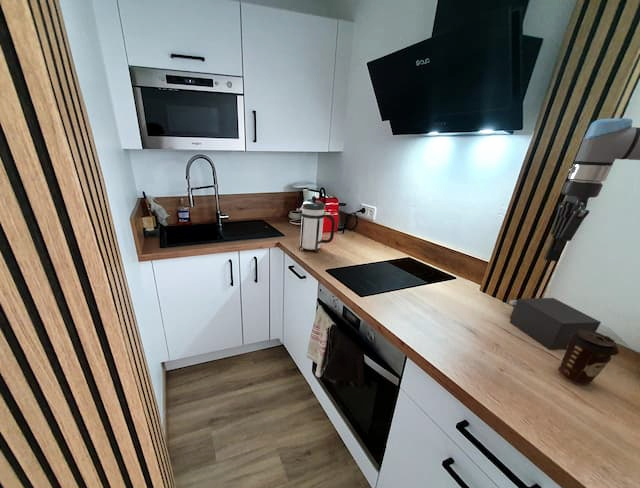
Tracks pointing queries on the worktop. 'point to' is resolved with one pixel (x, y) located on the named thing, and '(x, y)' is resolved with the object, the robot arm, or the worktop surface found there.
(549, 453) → the worktop surface
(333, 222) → the coffee press
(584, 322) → the dark grey low box
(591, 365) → the coffee cup
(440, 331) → the worktop surface
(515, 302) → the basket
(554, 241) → the robot arm
